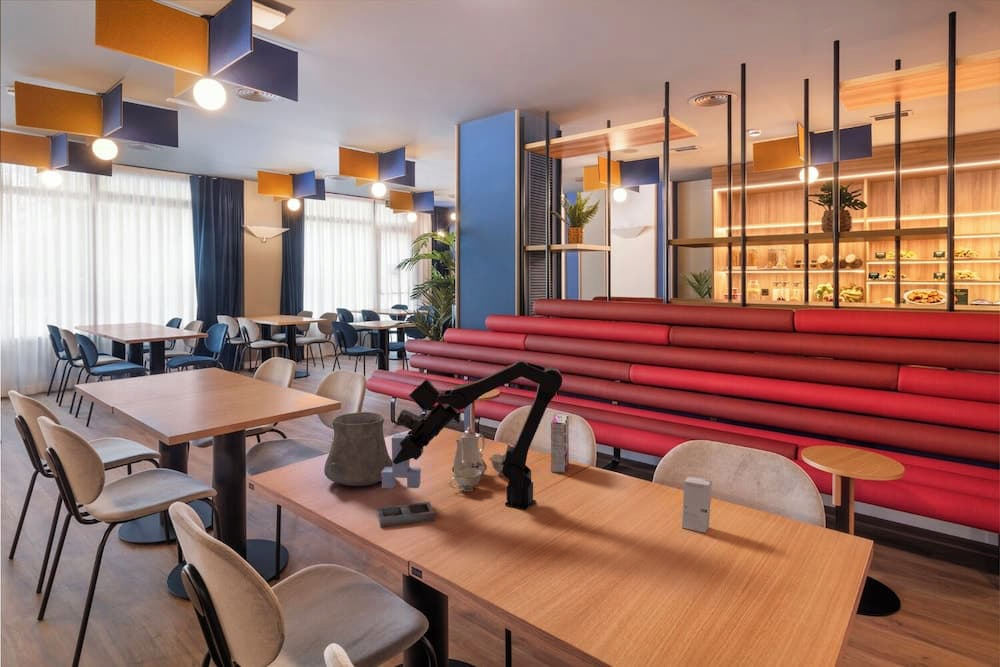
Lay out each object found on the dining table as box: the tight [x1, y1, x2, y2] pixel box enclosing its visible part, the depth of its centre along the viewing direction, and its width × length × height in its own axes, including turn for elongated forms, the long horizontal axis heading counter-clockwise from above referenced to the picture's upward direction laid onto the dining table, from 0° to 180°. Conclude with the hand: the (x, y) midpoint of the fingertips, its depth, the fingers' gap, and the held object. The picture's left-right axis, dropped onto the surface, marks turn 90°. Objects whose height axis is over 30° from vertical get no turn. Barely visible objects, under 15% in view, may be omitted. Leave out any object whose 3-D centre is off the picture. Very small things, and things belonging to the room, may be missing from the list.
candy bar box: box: [550, 414, 570, 474], centre depth 193 cm, size 11×5×16 cm, turn 168°
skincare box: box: [681, 475, 713, 533], centre depth 147 cm, size 6×4×12 cm
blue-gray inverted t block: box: [381, 433, 422, 489], centre depth 164 cm, size 10×4×14 cm, turn 87°
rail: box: [376, 501, 436, 528], centre depth 154 cm, size 14×8×2 cm, turn 107°
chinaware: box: [449, 425, 505, 492], centre depth 182 cm, size 28×17×17 cm, turn 149°
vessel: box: [323, 411, 392, 487], centre depth 180 cm, size 22×22×20 cm
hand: (396, 460), depth 164 cm, fingers closed on blue-gray inverted t block, 4 cm apart
